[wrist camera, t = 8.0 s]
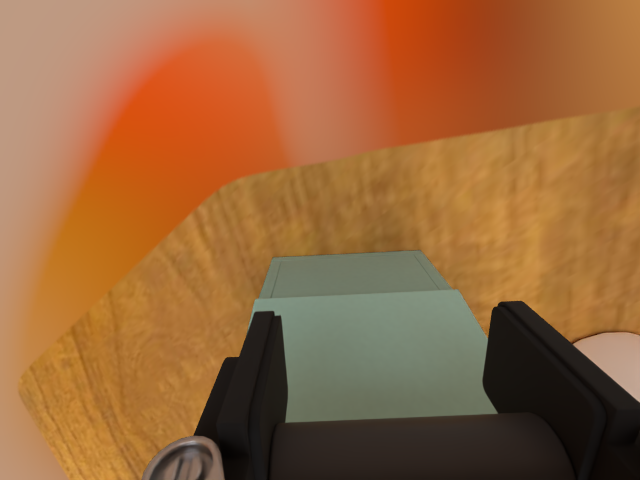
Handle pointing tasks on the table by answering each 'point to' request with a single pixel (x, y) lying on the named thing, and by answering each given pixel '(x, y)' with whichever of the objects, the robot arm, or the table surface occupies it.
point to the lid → (398, 395)
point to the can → (616, 357)
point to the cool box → (351, 274)
